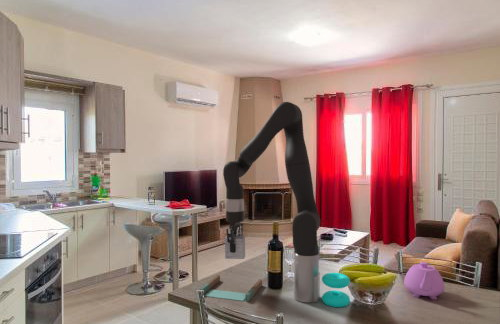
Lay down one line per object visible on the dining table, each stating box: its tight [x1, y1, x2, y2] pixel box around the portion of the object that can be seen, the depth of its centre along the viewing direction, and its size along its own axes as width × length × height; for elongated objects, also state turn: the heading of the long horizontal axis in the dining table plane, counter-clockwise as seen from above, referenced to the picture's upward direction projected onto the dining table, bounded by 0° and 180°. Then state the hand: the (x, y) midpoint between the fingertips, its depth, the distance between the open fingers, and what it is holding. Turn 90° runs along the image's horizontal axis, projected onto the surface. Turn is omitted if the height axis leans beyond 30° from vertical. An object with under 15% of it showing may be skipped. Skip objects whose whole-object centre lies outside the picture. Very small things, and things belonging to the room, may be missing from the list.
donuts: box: [321, 272, 351, 308], centre depth 134 cm, size 10×10×10 cm
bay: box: [198, 274, 263, 303], centre depth 147 cm, size 20×18×2 cm
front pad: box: [203, 288, 247, 302], centre depth 142 cm, size 16×7×1 cm, turn 72°
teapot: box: [403, 261, 445, 301], centre depth 141 cm, size 20×14×12 cm
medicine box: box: [224, 235, 246, 260], centre depth 150 cm, size 8×4×9 cm, turn 84°
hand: (235, 250), depth 150 cm, fingers closed on medicine box, 5 cm apart
